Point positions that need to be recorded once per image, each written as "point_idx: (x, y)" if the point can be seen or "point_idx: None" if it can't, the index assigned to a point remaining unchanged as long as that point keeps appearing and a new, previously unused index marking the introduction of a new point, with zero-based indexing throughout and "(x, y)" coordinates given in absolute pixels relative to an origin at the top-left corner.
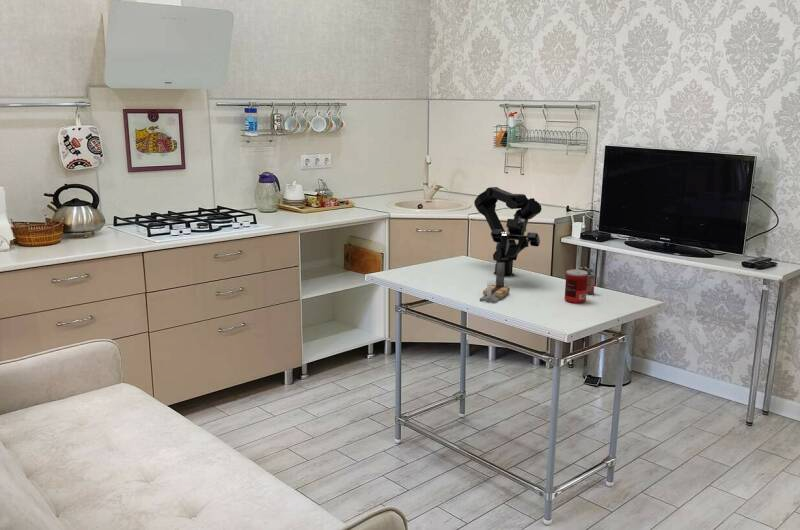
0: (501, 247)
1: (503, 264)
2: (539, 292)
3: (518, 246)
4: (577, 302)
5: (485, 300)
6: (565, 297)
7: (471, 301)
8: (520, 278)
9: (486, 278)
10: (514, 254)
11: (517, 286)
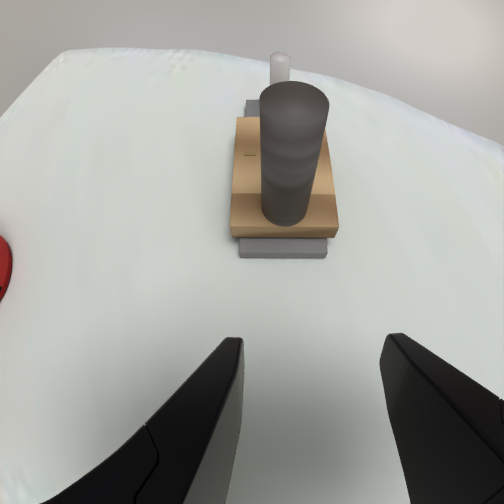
0: None
1: (263, 93)
2: (102, 348)
3: (151, 440)
4: None
5: None
6: (4, 246)
7: (330, 98)
8: None
9: None
10: (232, 340)
11: (242, 424)
